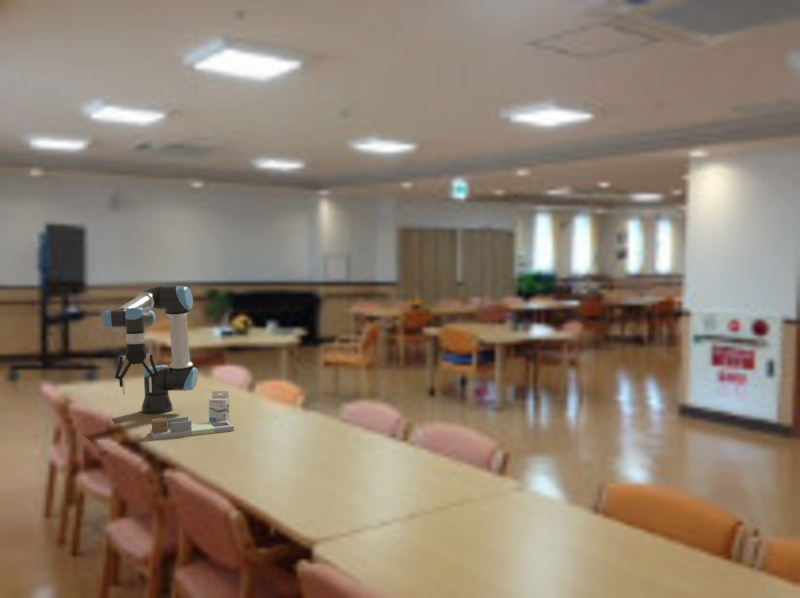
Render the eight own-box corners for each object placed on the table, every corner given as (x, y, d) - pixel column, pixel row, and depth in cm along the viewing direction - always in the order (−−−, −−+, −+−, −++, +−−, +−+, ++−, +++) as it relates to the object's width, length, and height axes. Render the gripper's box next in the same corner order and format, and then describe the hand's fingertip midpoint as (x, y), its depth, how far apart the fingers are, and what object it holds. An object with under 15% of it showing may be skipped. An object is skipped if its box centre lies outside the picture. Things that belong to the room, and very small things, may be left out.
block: (152, 430, 323) (151, 419, 323) (166, 428, 326) (165, 417, 325) (153, 433, 318) (153, 421, 317) (167, 431, 320) (167, 420, 320)
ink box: (208, 423, 343) (208, 392, 342) (212, 421, 348) (211, 390, 347) (226, 423, 342) (225, 393, 341) (229, 421, 347) (229, 391, 346)
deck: (150, 432, 326) (149, 419, 326) (228, 424, 341) (227, 411, 340) (153, 439, 314) (152, 426, 314) (233, 430, 329) (233, 417, 329)
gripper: (107, 345, 307) (109, 396, 309) (164, 342, 317) (165, 392, 318) (106, 343, 314) (108, 393, 315) (162, 340, 323) (163, 389, 325)
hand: (137, 393), depth 317 cm, fingers open, 10 cm apart
